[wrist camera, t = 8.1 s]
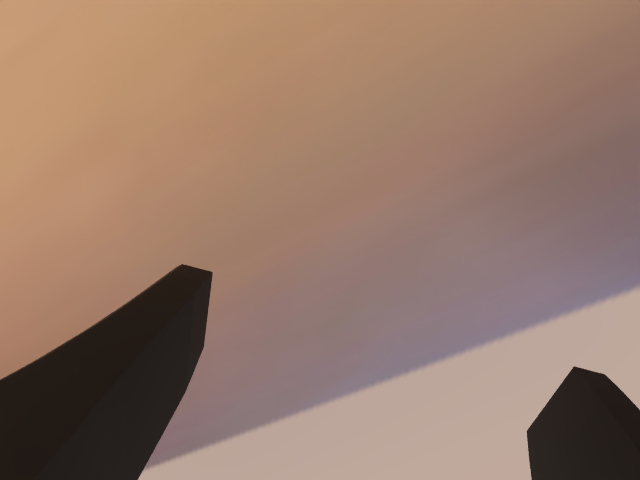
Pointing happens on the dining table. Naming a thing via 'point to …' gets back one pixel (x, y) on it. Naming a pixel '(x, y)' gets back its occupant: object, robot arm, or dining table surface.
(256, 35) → the dining table surface
